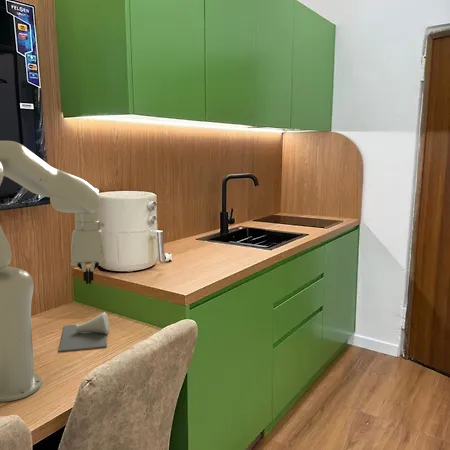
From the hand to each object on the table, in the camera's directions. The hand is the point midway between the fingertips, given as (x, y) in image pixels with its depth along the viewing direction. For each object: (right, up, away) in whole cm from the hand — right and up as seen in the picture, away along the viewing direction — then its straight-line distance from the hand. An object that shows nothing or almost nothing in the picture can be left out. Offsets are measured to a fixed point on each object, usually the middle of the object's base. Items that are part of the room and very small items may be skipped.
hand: (88, 282), depth 138 cm
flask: (+5, -14, +5) cm, 16 cm away
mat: (-2, -18, +3) cm, 18 cm away
